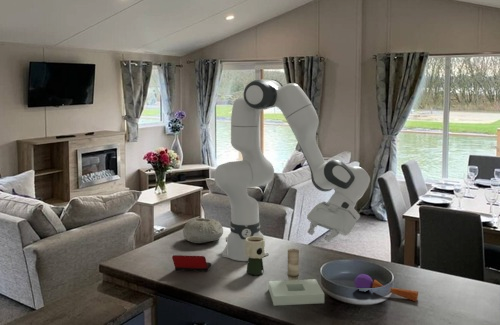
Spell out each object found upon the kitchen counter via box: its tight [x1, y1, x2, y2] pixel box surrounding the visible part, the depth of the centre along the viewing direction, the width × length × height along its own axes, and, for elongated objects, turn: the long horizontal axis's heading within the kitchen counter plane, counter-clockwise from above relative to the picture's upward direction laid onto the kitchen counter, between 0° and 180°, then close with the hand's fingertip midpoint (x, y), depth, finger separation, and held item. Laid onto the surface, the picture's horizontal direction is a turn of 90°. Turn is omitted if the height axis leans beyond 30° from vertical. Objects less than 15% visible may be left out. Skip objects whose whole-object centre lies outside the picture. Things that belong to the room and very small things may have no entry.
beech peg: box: [286, 248, 300, 280], centre depth 163 cm, size 4×4×12 cm
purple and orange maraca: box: [354, 273, 419, 303], centre depth 154 cm, size 6×6×20 cm
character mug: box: [245, 236, 266, 276], centre depth 173 cm, size 11×7×13 cm, turn 149°
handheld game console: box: [172, 254, 212, 273], centre depth 177 cm, size 12×11×7 cm
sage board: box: [268, 278, 325, 307], centre depth 154 cm, size 12×16×3 cm
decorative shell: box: [182, 217, 224, 244], centre depth 210 cm, size 18×18×10 cm
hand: (317, 237), depth 167 cm, fingers open, 8 cm apart
